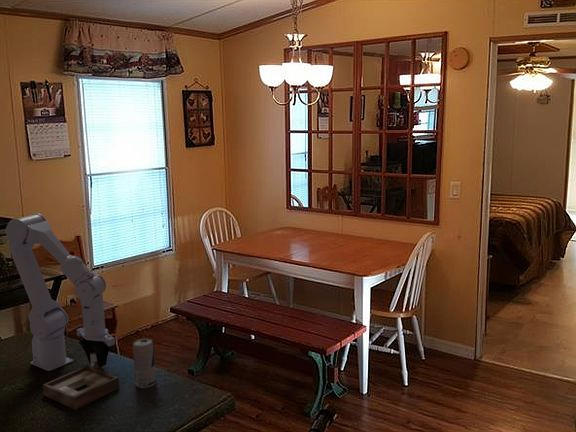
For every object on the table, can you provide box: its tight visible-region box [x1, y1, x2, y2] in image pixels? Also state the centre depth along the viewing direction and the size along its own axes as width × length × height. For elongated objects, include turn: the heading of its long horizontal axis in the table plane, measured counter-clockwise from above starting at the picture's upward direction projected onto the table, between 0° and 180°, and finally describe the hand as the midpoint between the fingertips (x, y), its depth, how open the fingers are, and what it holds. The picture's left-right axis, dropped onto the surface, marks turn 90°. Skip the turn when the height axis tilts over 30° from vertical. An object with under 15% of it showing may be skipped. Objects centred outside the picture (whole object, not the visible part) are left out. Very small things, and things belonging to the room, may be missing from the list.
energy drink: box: [132, 337, 157, 389], centre depth 151 cm, size 5×5×12 cm
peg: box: [90, 351, 106, 371], centre depth 162 cm, size 4×4×5 cm
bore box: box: [42, 365, 120, 411], centre depth 149 cm, size 13×13×3 cm
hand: (97, 364), depth 162 cm, fingers closed on peg, 4 cm apart
